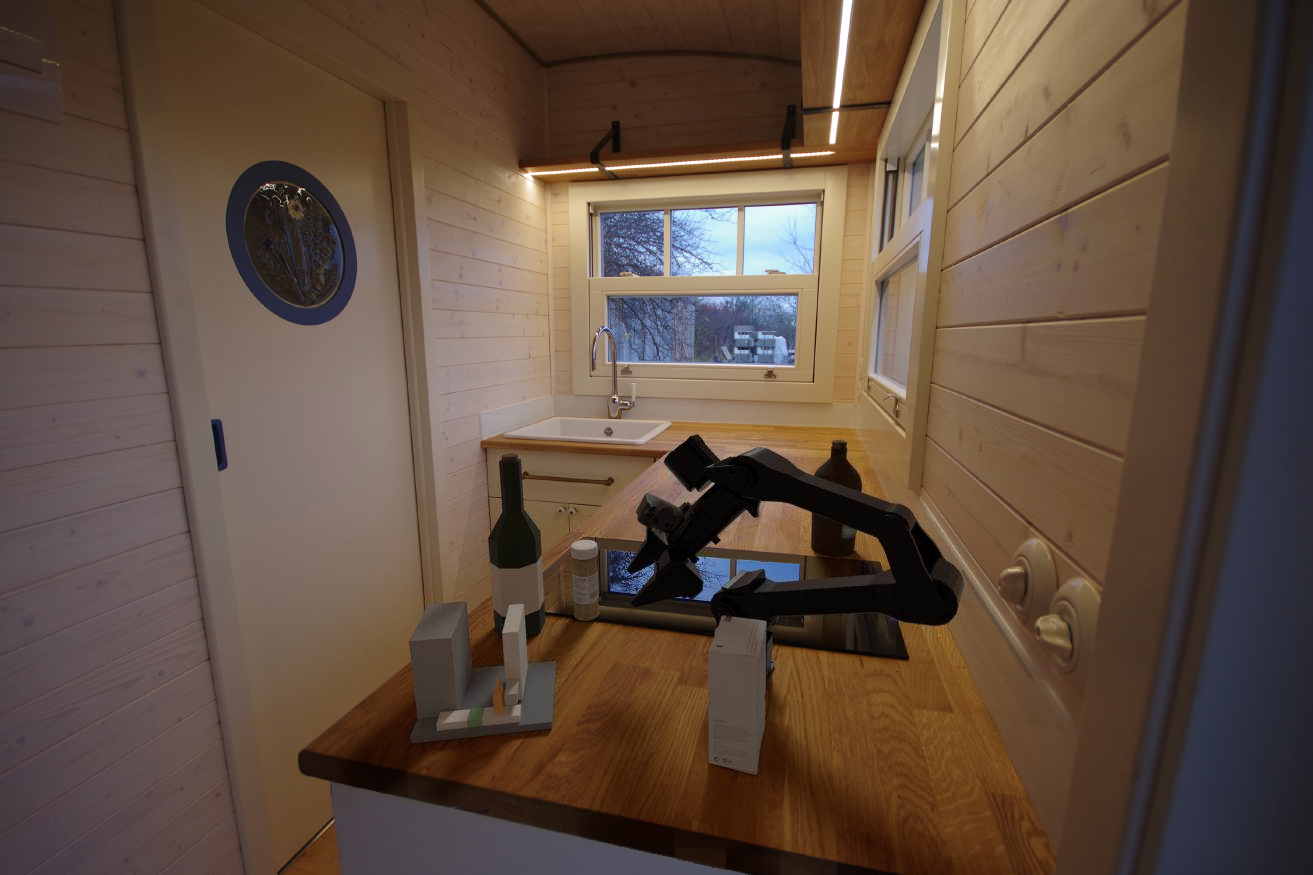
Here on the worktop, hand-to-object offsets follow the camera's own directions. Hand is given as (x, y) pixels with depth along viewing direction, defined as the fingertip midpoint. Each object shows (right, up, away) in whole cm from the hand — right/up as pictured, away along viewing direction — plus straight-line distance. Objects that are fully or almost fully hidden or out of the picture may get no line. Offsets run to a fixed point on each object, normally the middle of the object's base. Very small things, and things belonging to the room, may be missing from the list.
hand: (630, 587), depth 77 cm
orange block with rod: (-16, -12, -10) cm, 23 cm away
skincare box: (+14, -16, -12) cm, 24 cm away
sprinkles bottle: (-9, -10, +16) cm, 21 cm away
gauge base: (-19, -14, -5) cm, 24 cm away
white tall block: (-15, -12, -5) cm, 20 cm away
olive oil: (+44, -4, +44) cm, 62 cm away
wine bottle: (-19, -11, +13) cm, 25 cm away
